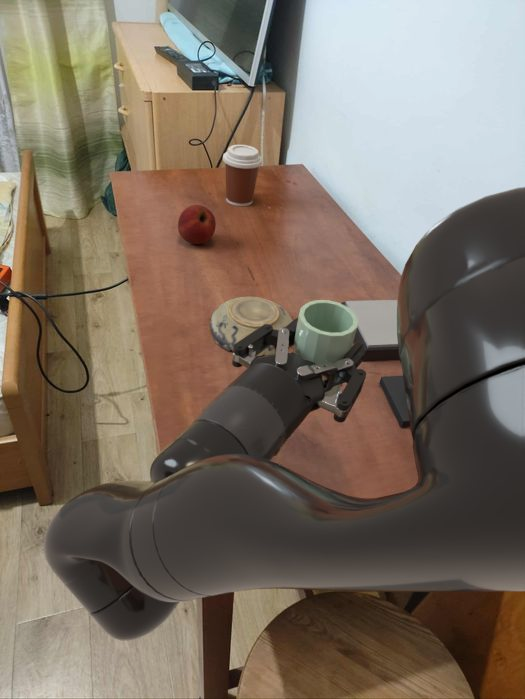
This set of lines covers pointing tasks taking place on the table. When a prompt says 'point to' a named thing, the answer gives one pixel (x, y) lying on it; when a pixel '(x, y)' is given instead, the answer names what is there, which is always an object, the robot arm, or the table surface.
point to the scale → (376, 328)
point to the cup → (325, 333)
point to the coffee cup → (241, 174)
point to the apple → (196, 224)
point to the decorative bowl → (246, 320)
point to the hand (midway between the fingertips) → (331, 335)
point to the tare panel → (396, 397)
